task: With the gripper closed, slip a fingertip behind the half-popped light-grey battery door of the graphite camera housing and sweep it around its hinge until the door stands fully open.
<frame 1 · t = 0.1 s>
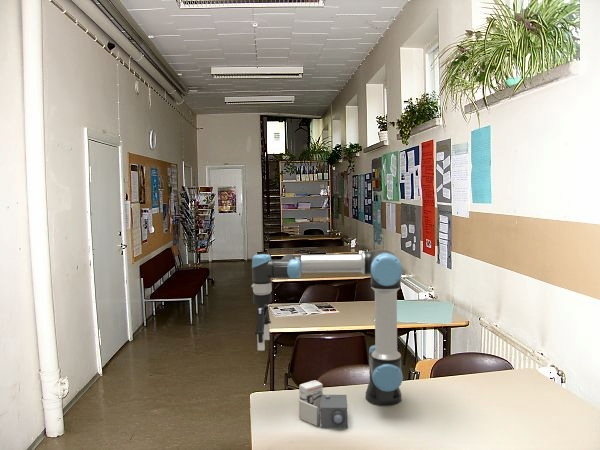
hand: (263, 344, 205), 28 cm above the table, fingers open, 13 cm apart
ink box: (311, 412, 206), on the table
housing: (334, 420, 198), on the table
battery door: (309, 412, 196), point 4 cm above the table, hinge at 48.0°
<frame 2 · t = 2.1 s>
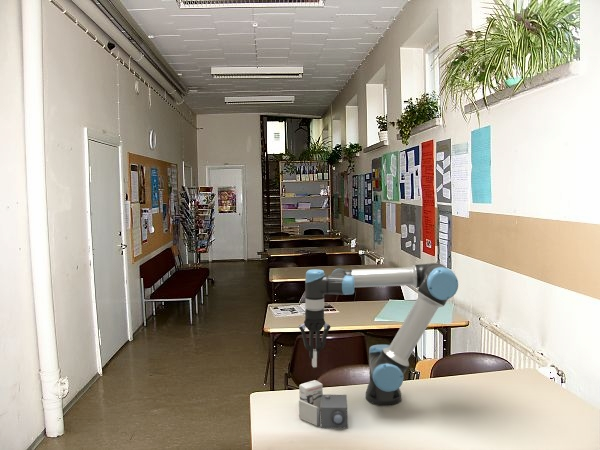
hand: (314, 365, 204), 19 cm above the table, fingers closed
nothing on the table moved.
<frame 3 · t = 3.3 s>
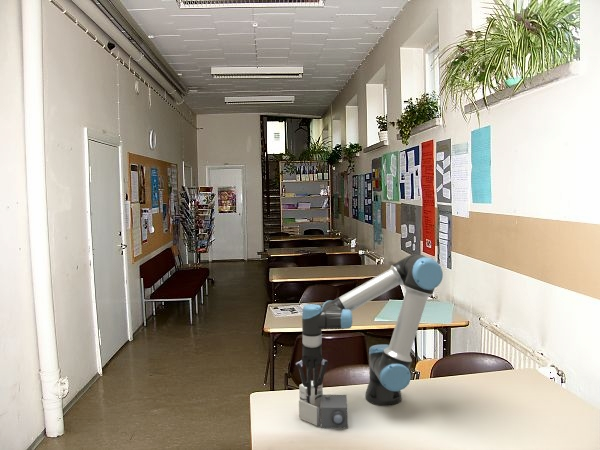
hand: (312, 402, 200), 6 cm above the table, fingers closed
nothing on the table moved.
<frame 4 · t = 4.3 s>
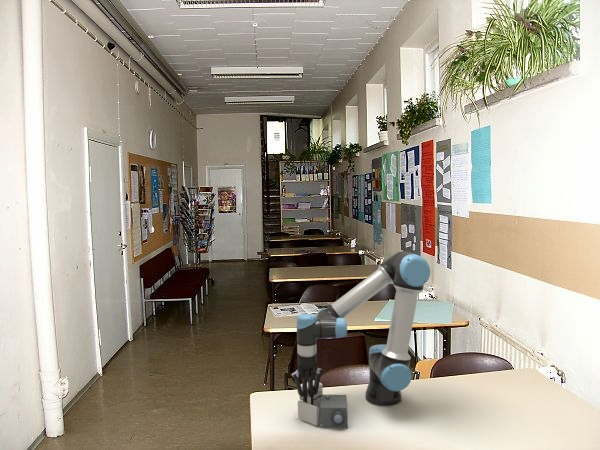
hand: (308, 412, 200), 3 cm above the table, fingers closed
battery door: (308, 413, 196), point 4 cm above the table, hinge at 51.9°, touching gripper
everything else where it was.
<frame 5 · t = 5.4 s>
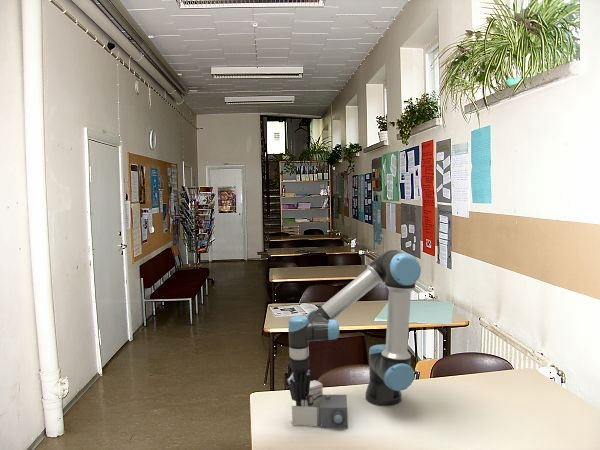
hand: (300, 415, 197), 3 cm above the table, fingers closed
battery door: (306, 415, 194), point 4 cm above the table, hinge at 82.1°, touching gripper
everything else where it was.
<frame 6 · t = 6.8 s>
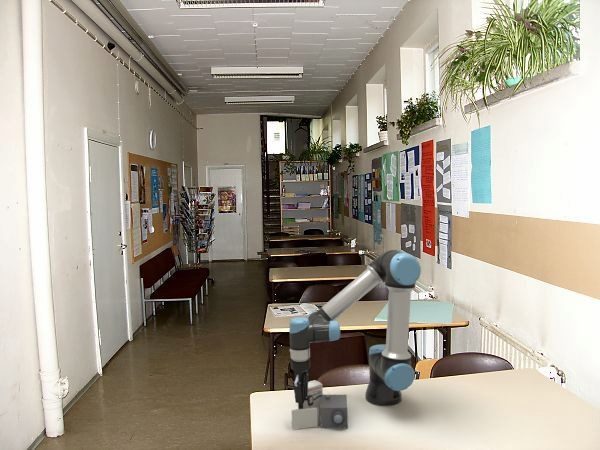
hand: (302, 417, 197), 2 cm above the table, fingers closed
battery door: (305, 418, 192), point 4 cm above the table, hinge at 103.1°
everything else where it was.
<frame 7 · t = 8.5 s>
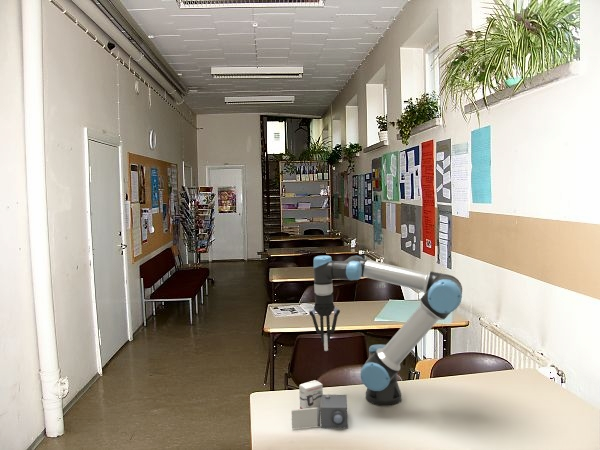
hand: (326, 349, 210), 24 cm above the table, fingers closed
nothing on the table moved.
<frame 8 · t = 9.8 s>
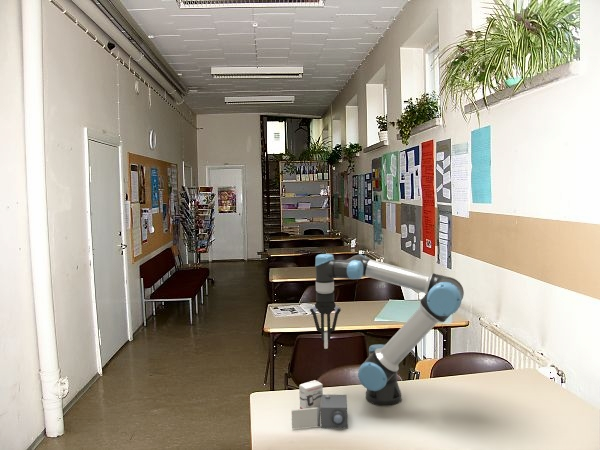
hand: (326, 347, 211), 24 cm above the table, fingers closed
nothing on the table moved.
at the end: battery door at +103° (first picture: +48°) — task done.
